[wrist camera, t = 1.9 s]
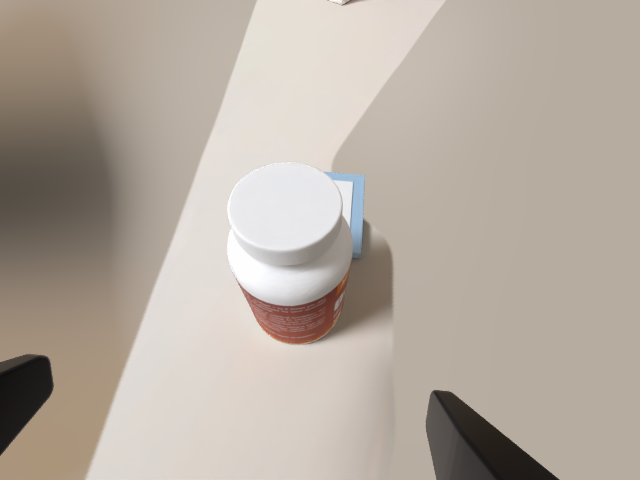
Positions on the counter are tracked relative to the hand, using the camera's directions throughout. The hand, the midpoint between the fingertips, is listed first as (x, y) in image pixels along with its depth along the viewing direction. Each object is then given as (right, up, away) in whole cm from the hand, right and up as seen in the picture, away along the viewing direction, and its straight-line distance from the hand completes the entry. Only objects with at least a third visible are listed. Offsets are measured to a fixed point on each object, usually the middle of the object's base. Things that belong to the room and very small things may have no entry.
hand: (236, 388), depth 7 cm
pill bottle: (0, -1, +15) cm, 15 cm away
